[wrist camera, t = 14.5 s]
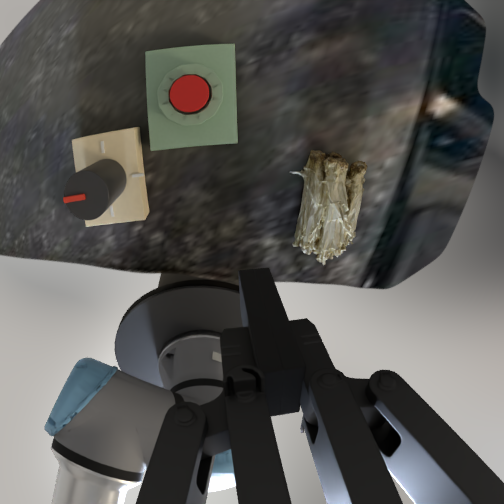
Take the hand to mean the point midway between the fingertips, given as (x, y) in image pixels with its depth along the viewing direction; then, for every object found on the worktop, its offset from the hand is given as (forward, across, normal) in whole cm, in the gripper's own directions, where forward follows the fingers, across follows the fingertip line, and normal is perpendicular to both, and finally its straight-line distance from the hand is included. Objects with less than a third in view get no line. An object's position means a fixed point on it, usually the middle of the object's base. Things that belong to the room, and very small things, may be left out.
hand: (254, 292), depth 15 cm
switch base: (+24, -4, +11) cm, 27 cm away
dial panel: (+24, -14, +2) cm, 28 cm away
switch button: (+21, -4, +11) cm, 24 cm away
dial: (+21, -14, +2) cm, 26 cm away
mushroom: (+25, +13, -3) cm, 28 cm away
